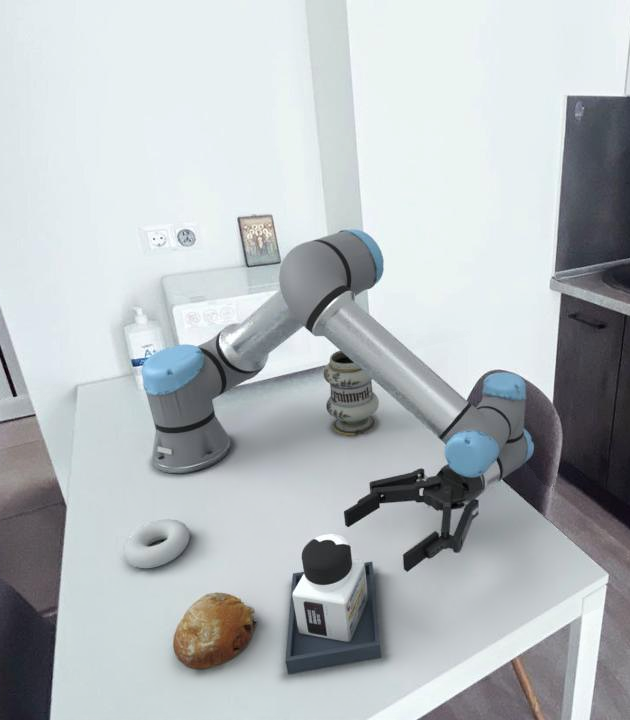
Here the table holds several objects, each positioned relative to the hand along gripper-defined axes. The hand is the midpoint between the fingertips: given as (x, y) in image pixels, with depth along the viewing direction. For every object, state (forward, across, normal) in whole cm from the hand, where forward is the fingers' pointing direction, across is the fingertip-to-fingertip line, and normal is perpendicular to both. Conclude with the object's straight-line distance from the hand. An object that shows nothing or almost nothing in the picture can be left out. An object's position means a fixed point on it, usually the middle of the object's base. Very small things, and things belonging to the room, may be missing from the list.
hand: (373, 540), depth 81 cm
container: (+8, 0, -9) cm, 12 cm away
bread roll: (+21, +9, -9) cm, 25 cm away
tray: (+8, 0, -9) cm, 12 cm away
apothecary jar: (-28, +42, -9) cm, 51 cm away
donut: (+20, +33, -9) cm, 40 cm away
